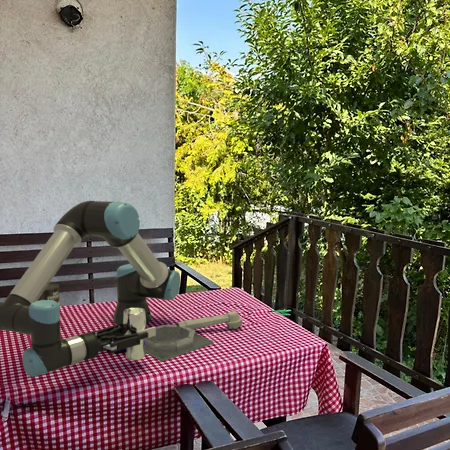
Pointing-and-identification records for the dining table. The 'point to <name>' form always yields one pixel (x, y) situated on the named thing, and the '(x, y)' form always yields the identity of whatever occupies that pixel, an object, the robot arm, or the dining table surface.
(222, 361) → the dining table surface
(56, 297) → the coffee can
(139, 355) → the chrome metal cup
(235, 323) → the beige knobbed rod
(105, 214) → the robot arm
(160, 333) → the collar
